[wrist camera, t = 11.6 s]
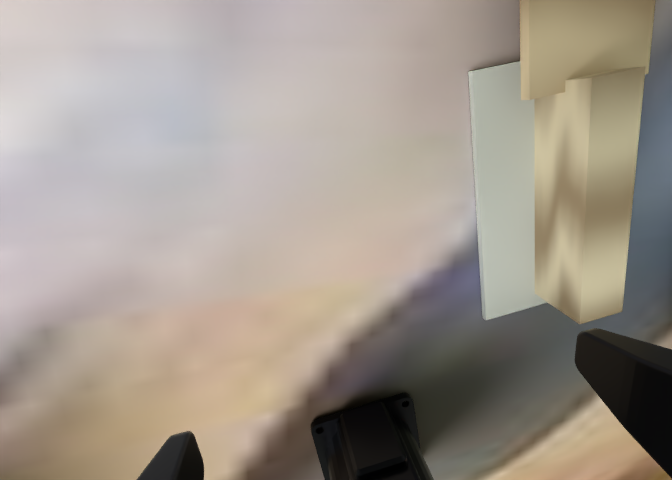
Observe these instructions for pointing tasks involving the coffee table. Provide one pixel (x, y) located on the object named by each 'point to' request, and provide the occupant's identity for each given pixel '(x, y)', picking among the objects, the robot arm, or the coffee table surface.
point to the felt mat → (504, 189)
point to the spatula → (584, 143)
